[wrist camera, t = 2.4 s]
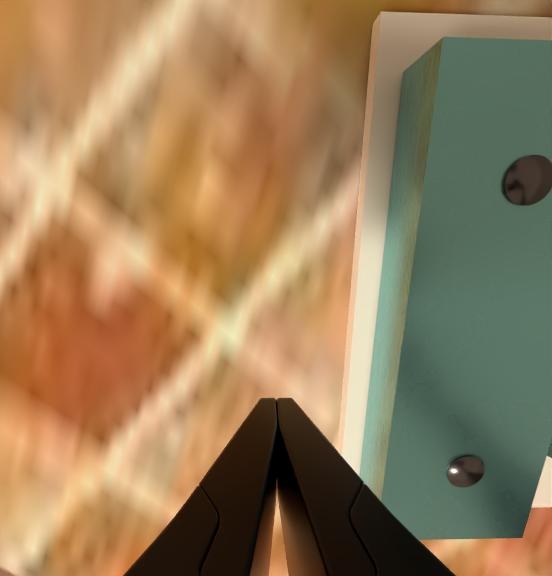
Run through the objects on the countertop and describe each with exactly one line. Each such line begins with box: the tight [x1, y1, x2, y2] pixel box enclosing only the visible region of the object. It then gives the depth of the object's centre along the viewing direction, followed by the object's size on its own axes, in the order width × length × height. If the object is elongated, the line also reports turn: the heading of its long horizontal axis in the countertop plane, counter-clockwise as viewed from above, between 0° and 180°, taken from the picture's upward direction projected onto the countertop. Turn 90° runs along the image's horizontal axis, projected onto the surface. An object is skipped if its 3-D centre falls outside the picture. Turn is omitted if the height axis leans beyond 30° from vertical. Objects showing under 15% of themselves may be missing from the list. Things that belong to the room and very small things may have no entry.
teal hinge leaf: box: [359, 37, 552, 540], centre depth 14 cm, size 20×11×3 cm, turn 179°
